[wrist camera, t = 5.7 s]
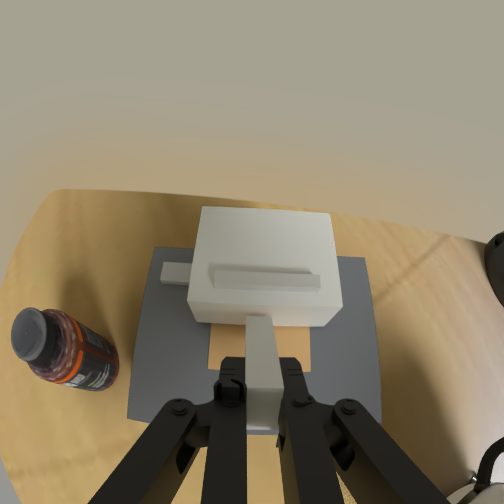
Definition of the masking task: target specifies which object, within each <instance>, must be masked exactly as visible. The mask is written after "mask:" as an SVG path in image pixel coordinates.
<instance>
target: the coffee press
mask: <svg viewBox="0 0 504 504" xmlns="http://www.w3.org/2000/svg"><path fill="white" fill-rule="evenodd" d="M502 452H504V437H503V438H501V439H499V440H498V441H496V442H495V443H493V444H492V445H491V446H490V447H489V448H488V449H487V451H486V452H485V454H484V456H483V457H482V460H481V462H480V465H479V469H478V473H477V475H475V476H474V477H473V478H472V479H471V481H470V485H467V486H465V487H462V488H461V489H459V490H457V491H455V492H454V493H453V494H451V495H450V496H449V497H447V498H446V499H447V500H448V501H449V502H450V503H451V504H504V483H497V482H491V481H490V479H491V474H492V469H493V465H494V462H495V460H496V458H497V457H498V456H499V455H500V454H501V453H502ZM475 482H476V483H475Z"/></svg>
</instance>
